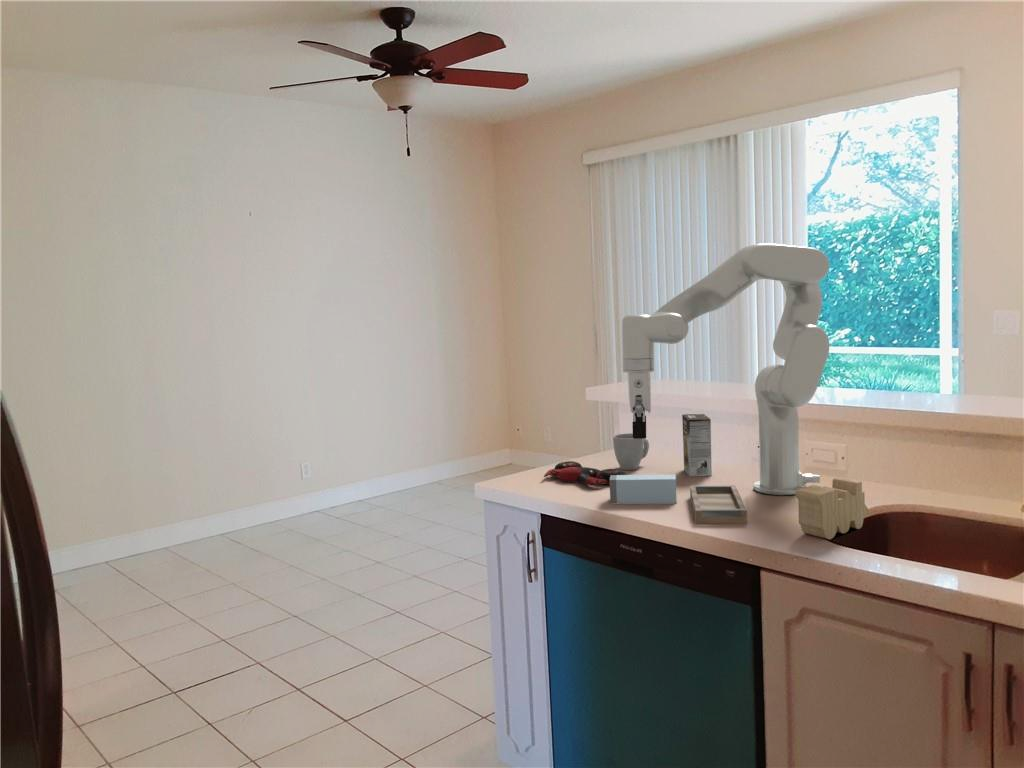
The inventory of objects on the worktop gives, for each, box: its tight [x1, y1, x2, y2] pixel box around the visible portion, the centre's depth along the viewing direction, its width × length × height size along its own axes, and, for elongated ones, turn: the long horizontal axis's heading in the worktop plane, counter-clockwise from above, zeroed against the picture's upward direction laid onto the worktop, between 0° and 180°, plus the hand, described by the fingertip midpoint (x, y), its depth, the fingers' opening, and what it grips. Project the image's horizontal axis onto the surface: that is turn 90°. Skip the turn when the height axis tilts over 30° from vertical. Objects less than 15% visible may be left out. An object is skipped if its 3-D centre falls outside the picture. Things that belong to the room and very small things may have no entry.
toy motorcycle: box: [543, 460, 626, 486], centre depth 219 cm, size 25×5×16 cm
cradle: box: [689, 484, 748, 525], centre depth 183 cm, size 22×11×3 cm, turn 170°
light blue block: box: [609, 474, 678, 505], centre depth 194 cm, size 16×5×6 cm, turn 80°
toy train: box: [794, 477, 870, 540], centre depth 163 cm, size 6×17×10 cm, turn 124°
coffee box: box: [681, 413, 713, 477], centre depth 220 cm, size 9×6×16 cm
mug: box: [612, 432, 650, 471], centre depth 231 cm, size 12×9×10 cm
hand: (639, 434), depth 192 cm, fingers open, 9 cm apart
